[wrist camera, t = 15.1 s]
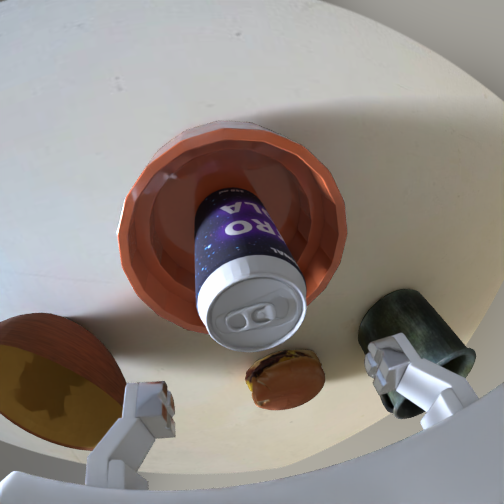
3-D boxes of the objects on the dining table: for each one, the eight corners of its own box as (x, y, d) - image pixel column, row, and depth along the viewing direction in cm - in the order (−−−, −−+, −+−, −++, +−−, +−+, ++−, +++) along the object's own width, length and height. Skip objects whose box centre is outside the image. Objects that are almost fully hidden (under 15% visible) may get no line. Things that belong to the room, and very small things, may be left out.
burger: (329, 367, 38) (340, 393, 34) (269, 397, 39) (276, 424, 35) (298, 328, 33) (310, 359, 29) (229, 365, 34) (234, 397, 30)
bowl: (108, 258, 25) (77, 338, 16) (160, 380, 34) (160, 451, 25) (-19, 283, 23) (-60, 343, 14) (48, 385, 32) (33, 444, 23)
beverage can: (270, 237, 26) (319, 338, 16) (206, 256, 26) (217, 368, 15) (256, 175, 23) (307, 250, 13) (185, 196, 23) (177, 288, 13)
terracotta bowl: (213, 80, 19) (218, 74, 14) (349, 199, 26) (383, 228, 21) (102, 234, 24) (82, 273, 19) (240, 314, 30) (250, 359, 25)
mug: (435, 281, 34) (491, 342, 24) (395, 359, 41) (431, 419, 30) (370, 284, 32) (428, 362, 21) (334, 370, 38) (366, 442, 28)
